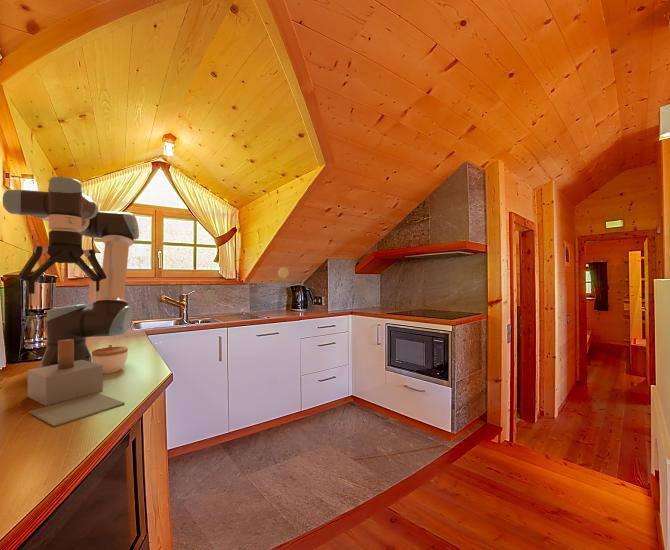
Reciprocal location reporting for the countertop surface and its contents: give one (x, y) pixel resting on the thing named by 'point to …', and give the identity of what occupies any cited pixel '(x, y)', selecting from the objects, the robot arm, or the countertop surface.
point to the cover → (64, 377)
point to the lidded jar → (110, 358)
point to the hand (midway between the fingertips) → (65, 304)
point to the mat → (75, 409)
